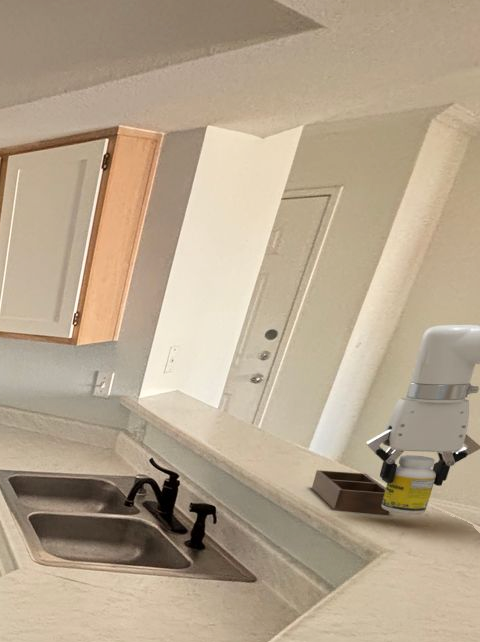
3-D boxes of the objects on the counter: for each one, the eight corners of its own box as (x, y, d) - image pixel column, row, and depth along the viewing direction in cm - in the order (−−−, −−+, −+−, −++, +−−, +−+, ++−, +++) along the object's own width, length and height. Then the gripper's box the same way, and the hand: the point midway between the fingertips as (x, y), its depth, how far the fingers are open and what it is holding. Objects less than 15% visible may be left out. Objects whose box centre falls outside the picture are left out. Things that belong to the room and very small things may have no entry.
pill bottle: (373, 505, 123) (387, 454, 119) (412, 506, 121) (427, 454, 117) (391, 514, 117) (406, 461, 114) (432, 516, 115) (449, 461, 112)
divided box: (359, 492, 138) (365, 473, 137) (388, 514, 124) (395, 494, 123) (311, 488, 142) (316, 470, 141) (334, 509, 129) (340, 489, 127)
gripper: (492, 389, 110) (463, 480, 116) (367, 390, 119) (345, 475, 124) (515, 395, 104) (483, 491, 110) (381, 395, 113) (358, 484, 118)
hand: (410, 481), depth 117 cm, fingers closed on pill bottle, 6 cm apart
